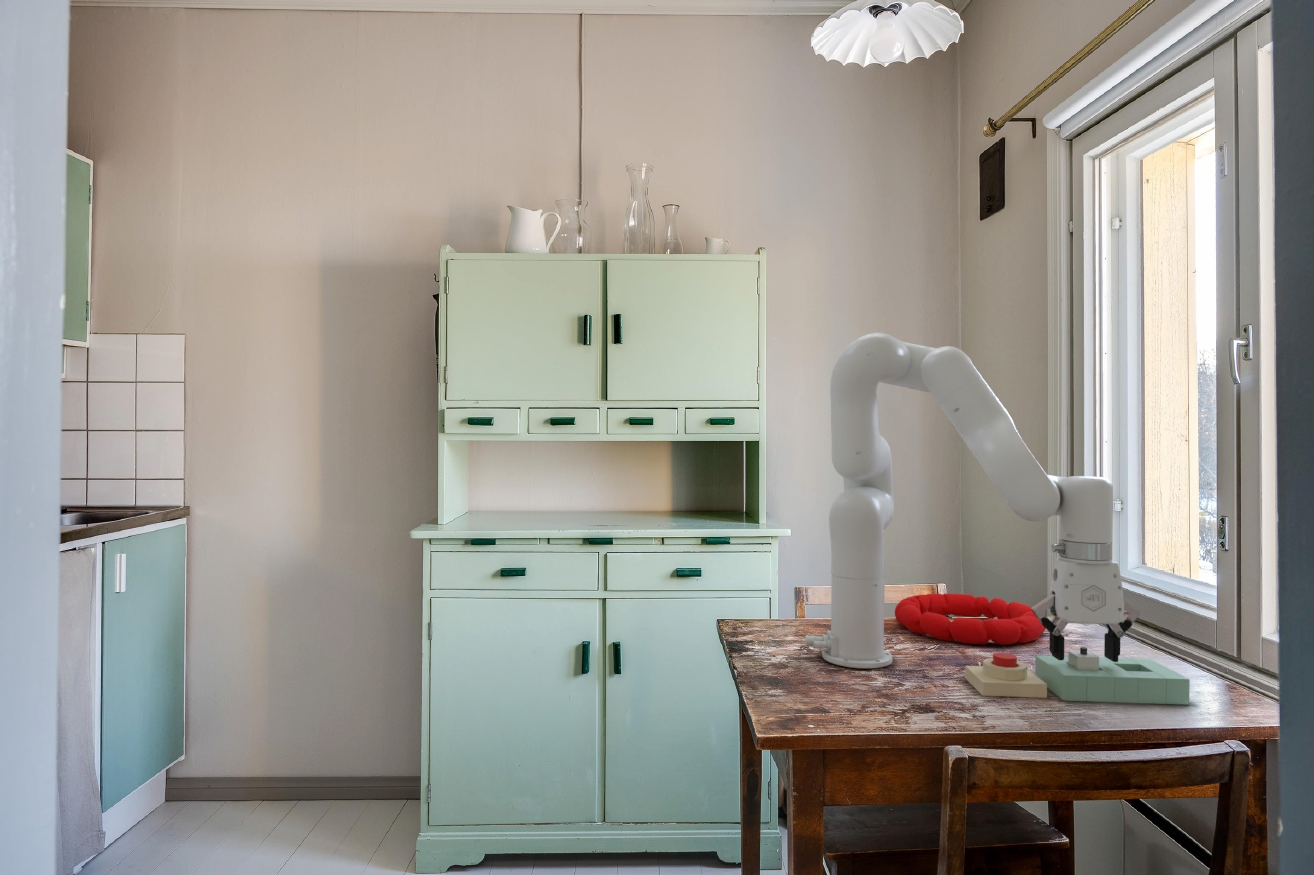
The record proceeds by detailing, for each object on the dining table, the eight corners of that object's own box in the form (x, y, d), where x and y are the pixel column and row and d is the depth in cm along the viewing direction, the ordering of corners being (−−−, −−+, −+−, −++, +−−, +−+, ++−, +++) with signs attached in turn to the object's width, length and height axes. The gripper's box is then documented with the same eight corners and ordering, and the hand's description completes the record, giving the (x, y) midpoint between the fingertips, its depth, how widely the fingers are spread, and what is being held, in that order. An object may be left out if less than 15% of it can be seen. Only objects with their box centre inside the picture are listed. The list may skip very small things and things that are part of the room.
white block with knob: (1077, 693, 128) (1077, 650, 128) (1067, 686, 131) (1068, 644, 131) (1099, 694, 128) (1099, 651, 128) (1089, 687, 131) (1089, 645, 131)
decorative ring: (1065, 628, 152) (1025, 584, 181) (902, 619, 158) (889, 579, 187) (1064, 664, 152) (1024, 615, 182) (901, 654, 158) (888, 608, 188)
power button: (997, 669, 129) (997, 658, 129) (989, 662, 132) (989, 652, 132) (1020, 669, 128) (1020, 659, 128) (1011, 663, 132) (1012, 652, 132)
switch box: (982, 695, 126) (982, 670, 126) (964, 678, 135) (965, 655, 135) (1047, 698, 126) (1047, 672, 125) (1025, 680, 134) (1025, 656, 134)
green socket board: (1063, 700, 124) (1063, 675, 124) (1034, 678, 135) (1035, 655, 135) (1189, 704, 123) (1189, 679, 123) (1150, 682, 134) (1150, 658, 134)
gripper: (1040, 554, 126) (1038, 664, 126) (1154, 556, 125) (1152, 667, 125) (1022, 547, 134) (1020, 651, 134) (1129, 549, 132) (1127, 654, 133)
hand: (1084, 658), depth 129 cm, fingers open, 7 cm apart
